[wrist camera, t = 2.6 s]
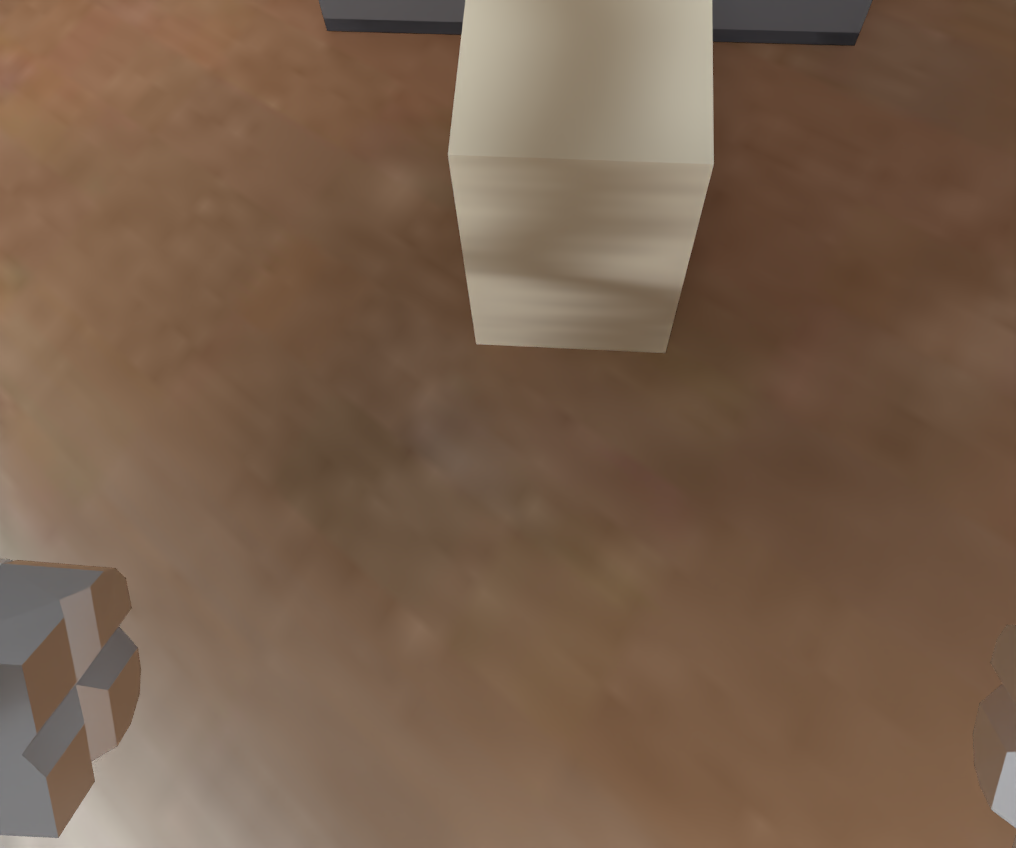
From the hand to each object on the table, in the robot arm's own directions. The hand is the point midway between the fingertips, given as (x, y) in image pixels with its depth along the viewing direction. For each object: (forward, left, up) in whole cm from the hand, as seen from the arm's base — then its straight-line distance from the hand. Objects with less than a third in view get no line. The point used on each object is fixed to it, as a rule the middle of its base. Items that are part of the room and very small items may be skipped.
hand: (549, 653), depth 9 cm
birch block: (0, -13, -14) cm, 19 cm away
